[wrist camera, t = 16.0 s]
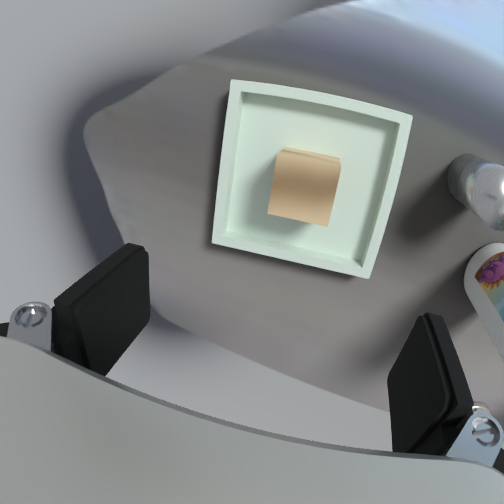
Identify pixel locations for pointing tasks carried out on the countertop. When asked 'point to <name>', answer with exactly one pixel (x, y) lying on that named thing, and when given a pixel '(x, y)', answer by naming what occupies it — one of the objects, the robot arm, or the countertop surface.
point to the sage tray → (318, 141)
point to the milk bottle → (488, 290)
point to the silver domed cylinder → (479, 187)
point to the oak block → (304, 186)
